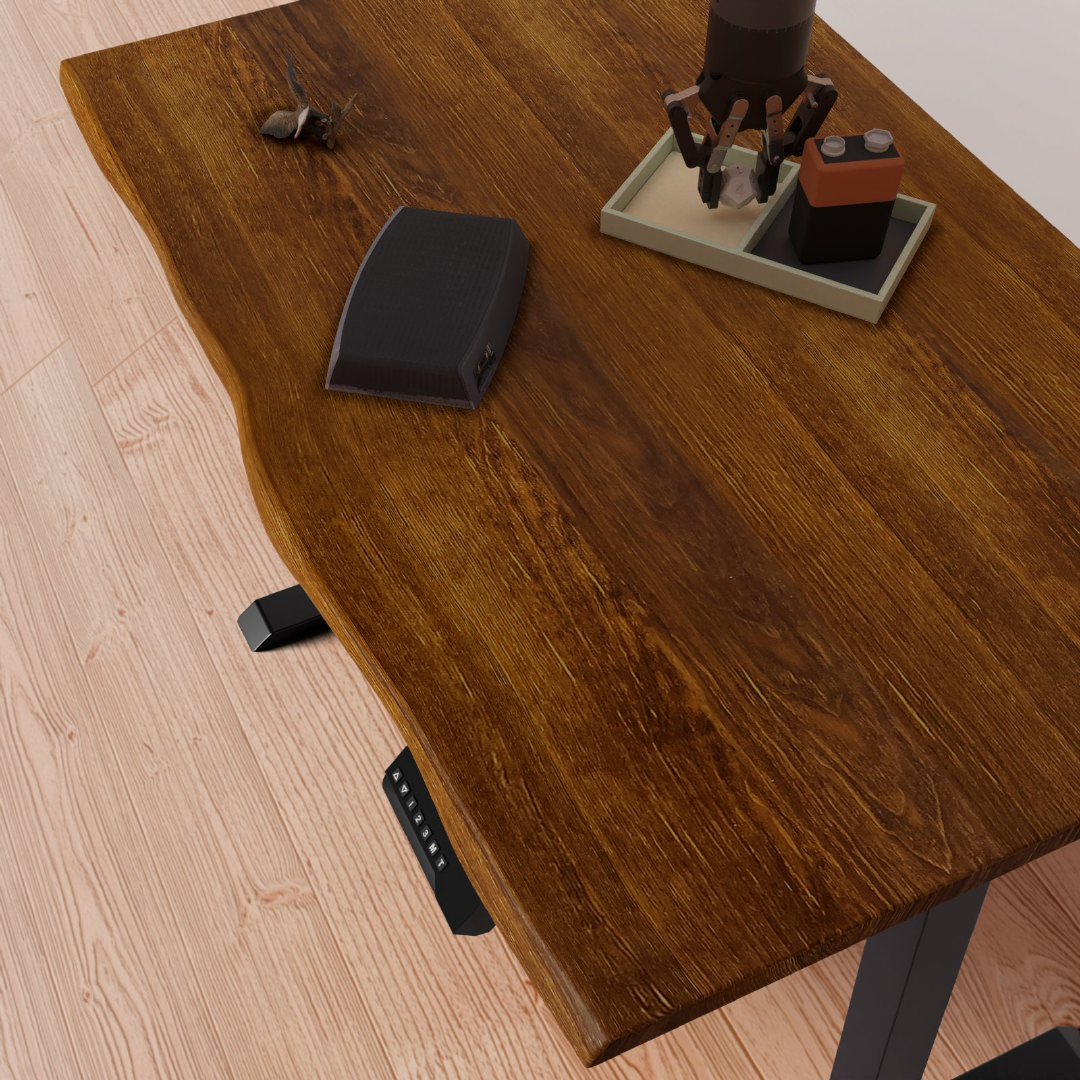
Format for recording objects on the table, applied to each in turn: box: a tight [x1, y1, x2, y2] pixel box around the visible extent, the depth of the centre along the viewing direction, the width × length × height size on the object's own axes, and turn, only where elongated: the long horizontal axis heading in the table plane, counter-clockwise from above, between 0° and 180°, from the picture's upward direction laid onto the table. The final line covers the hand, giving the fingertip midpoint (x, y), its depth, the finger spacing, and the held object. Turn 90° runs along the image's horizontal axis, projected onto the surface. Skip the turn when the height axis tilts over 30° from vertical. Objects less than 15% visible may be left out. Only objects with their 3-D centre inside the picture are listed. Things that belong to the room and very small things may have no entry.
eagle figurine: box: [259, 50, 359, 150], centre depth 105 cm, size 8×7×9 cm
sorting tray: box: [599, 125, 937, 325], centre depth 96 cm, size 24×14×3 cm, turn 61°
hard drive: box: [324, 205, 530, 411], centre depth 90 cm, size 13×19×4 cm
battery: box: [788, 127, 906, 264], centre depth 91 cm, size 4×7×10 cm, turn 97°
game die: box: [719, 162, 759, 210], centre depth 96 cm, size 4×4×3 cm
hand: (735, 199), depth 97 cm, fingers closed on game die, 3 cm apart
